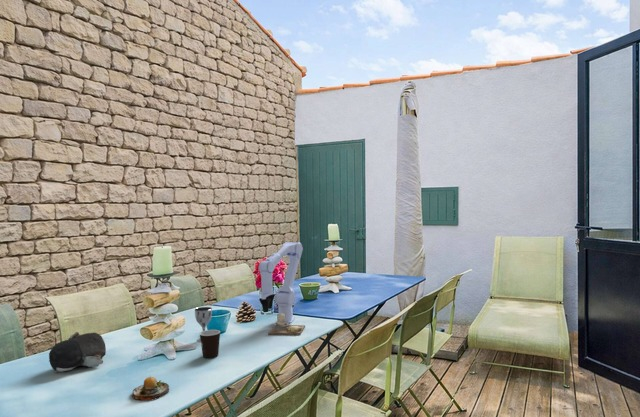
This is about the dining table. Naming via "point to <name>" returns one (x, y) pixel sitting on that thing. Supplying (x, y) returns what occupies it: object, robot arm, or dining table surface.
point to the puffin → (78, 352)
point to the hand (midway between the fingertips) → (267, 310)
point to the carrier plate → (286, 329)
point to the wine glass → (203, 317)
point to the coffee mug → (210, 343)
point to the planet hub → (280, 319)
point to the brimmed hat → (150, 389)
